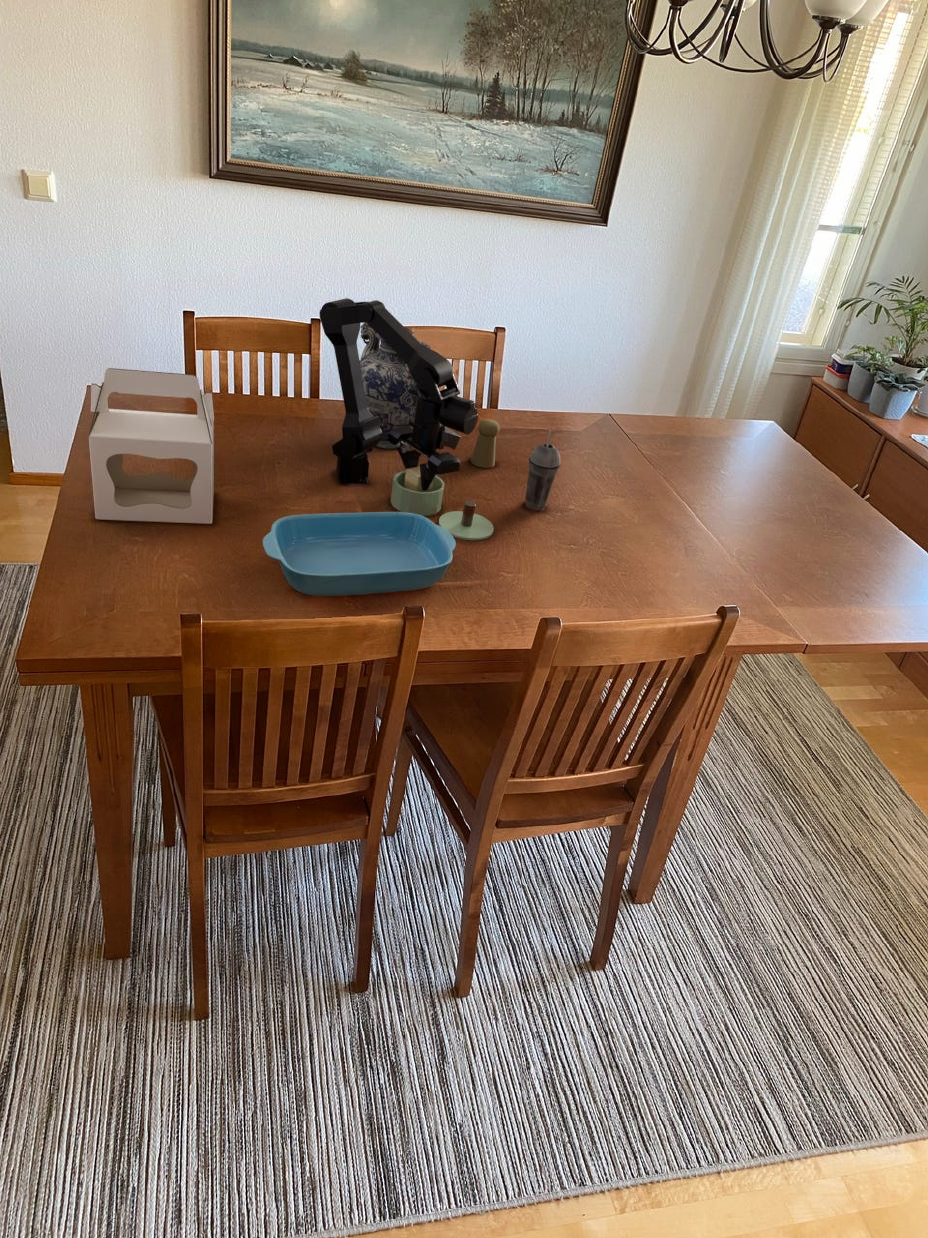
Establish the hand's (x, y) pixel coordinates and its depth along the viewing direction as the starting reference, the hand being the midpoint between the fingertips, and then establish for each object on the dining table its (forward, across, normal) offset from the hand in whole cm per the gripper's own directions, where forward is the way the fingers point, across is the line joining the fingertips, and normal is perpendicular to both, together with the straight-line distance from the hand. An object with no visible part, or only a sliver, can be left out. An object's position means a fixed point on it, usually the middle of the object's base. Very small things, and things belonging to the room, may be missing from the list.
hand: (418, 485), depth 196 cm
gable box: (+5, +20, +50) cm, 55 cm away
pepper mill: (+5, +12, -31) cm, 33 cm away
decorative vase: (+5, +32, -14) cm, 35 cm away
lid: (+4, -13, -4) cm, 14 cm away
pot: (+5, 0, 0) cm, 5 cm away
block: (+1, 0, 0) cm, 1 cm away
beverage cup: (+5, -12, -26) cm, 29 cm away
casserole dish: (+5, -18, +27) cm, 33 cm away
